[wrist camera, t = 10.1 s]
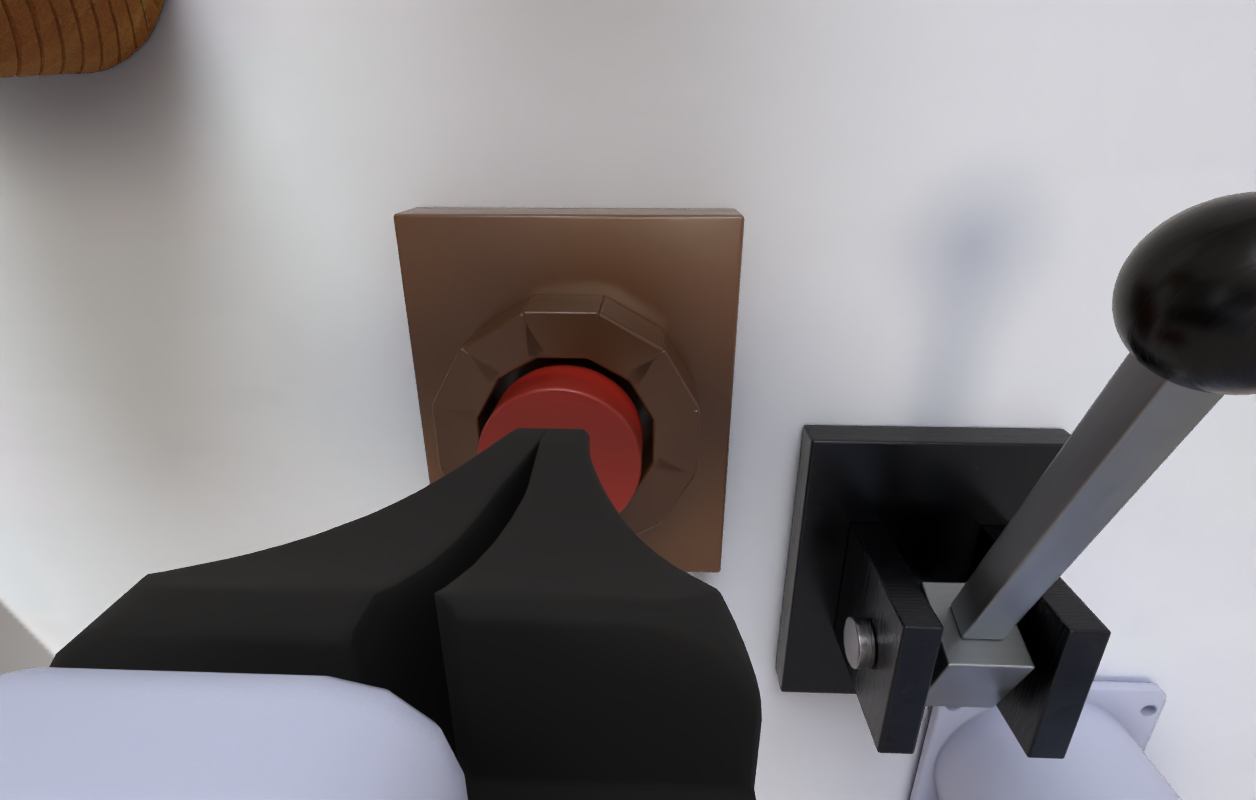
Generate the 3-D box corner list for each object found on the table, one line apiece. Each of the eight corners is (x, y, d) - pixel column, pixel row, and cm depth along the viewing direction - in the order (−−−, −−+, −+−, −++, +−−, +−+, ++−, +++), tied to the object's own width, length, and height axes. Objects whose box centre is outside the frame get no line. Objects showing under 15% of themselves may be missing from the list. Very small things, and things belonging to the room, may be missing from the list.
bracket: (803, 423, 20) (858, 529, 15) (1063, 427, 20) (1217, 537, 14) (774, 666, 24) (810, 821, 18) (992, 672, 23) (1093, 831, 18)
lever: (1136, 155, 10) (1272, 264, 8) (1341, 154, 10) (1537, 265, 7) (877, 617, 20) (903, 717, 18) (974, 619, 20) (1012, 720, 18)
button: (642, 500, 18) (641, 536, 16) (499, 497, 18) (484, 533, 16) (643, 364, 16) (642, 389, 14) (487, 362, 16) (468, 386, 15)
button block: (715, 542, 22) (726, 612, 19) (455, 536, 22) (421, 605, 19) (736, 208, 18) (755, 224, 14) (414, 207, 18) (362, 222, 15)
